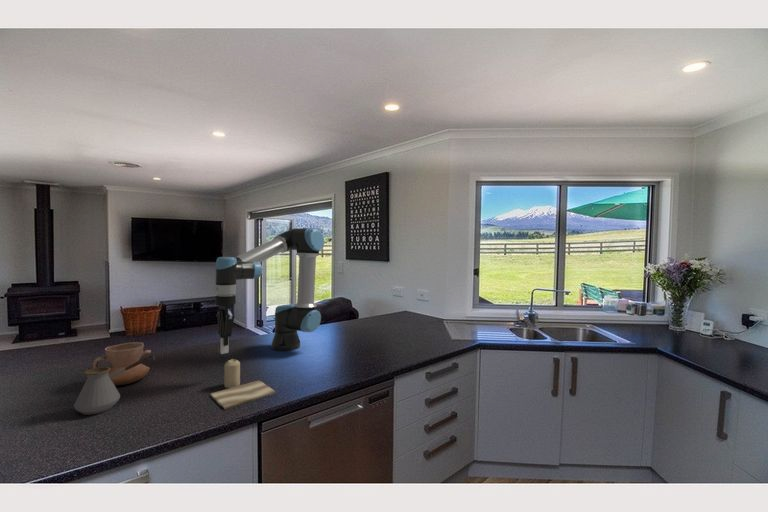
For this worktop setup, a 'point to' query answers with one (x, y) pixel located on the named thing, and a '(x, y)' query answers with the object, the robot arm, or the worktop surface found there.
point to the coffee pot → (100, 390)
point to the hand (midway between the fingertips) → (224, 352)
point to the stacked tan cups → (125, 362)
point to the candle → (232, 373)
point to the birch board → (242, 394)
